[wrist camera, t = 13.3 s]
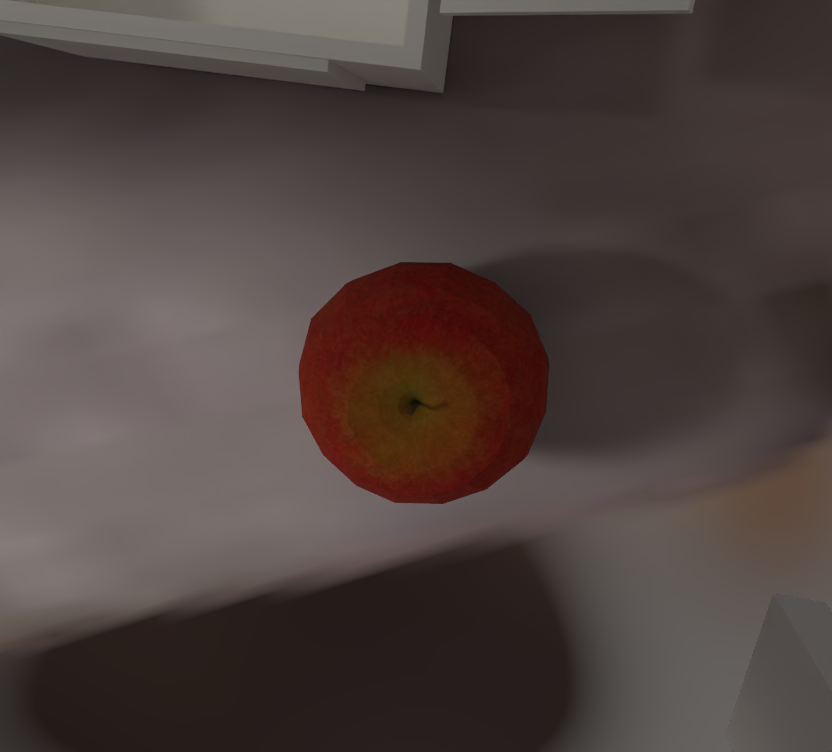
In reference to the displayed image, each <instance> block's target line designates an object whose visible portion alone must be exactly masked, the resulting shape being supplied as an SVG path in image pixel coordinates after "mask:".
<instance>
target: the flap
mask: <svg viewBox="0 0 832 752" xmlns="http://www.w3.org/2000/svg"><path fill="white" fill-rule="evenodd" d="M694 4H695V0H441V5H440V13H441V14H443V15H446V16H486V15H601V14H692V13H693V8H694Z"/></svg>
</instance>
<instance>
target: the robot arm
mask: <svg viewBox="0 0 832 752" xmlns="http://www.w3.org/2000/svg"><path fill="white" fill-rule="evenodd" d="M726 735H727V738H728V740H729V743H730V746H731V748H732V751H733V752H832V611H831V610H830V608H829V607H828V606H827V604H826V603H824V602H819V601H813V600H807V599H802V598H797V597H791V596H786V595H781V594H775V593H773V596H772V599H771V602H770V605H769V608H768V611H767V614H766V617H765V620H764V623H763V626H762V628H761V632H760V634H759V637H758V640H757V643H756V646H755V649H754V652H753V655H752V658H751V661H750V664H749V667H748V670H747V673H746V676H745V679H744V682H743V685H742V688H741V690H740V694H739V696H738V699H737V703H736V705H735V708H734V711H733V714H732V717H731V720H730V723H729V726H728V729H727V732H726Z"/></svg>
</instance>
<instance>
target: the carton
mask: <svg viewBox="0 0 832 752" xmlns="http://www.w3.org/2000/svg"><path fill="white" fill-rule="evenodd" d="M440 5H441V0H0V35H1V36H5V37H9V38H13V39H17V40H21V41H25V42H29V43H32V44H36V45H40V46H44V47H48V48H52V49H56V50H60V51H64V52H68V53H72V54H76V55H80V56H84V57H92V58H100V59H109V60H117V61H125V62H133V63H141V64H149V65H157V66H166V67H174V68H182V69H190V70H198V71H206V72H214V73H223V74H231V75H239V76H247V77H255V78H263V79H271V80H280V81H288V82H296V83H304V84H312V85H320V86H328V87H337V88H345V89H353V90H361V91H365V85H366V84H370V85H378V86H387V87H395V88H403V89H411V90H420V91H428V92H436V93H443V92H444V84H445V76H446V68H447V60H448V52H449V44H450V36H451V28H452V20H453V16H446V15H443V14H441V13H440Z"/></svg>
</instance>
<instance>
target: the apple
mask: <svg viewBox="0 0 832 752" xmlns="http://www.w3.org/2000/svg"><path fill="white" fill-rule="evenodd" d="M548 372H549V363H548V357H547V354H546V352H545V349H544V347H543V344H542V342H541V339H540V337H539V335H538V332H537V330H536V327H535V325H534V322H533V320H532V317H531V315H530V314H529V313H528V312H527V311H526V310H525V309H523V308H522V307H521V306H520V305H519V304H518V303H517V302H516V301H515V300H514V299H512V298H511V297H510V296H509V295H508V294H507V293H506V292H505V291H504V290H502V289H501V288H500V287H499V286H498V285H497V284H496V283H494V282H492V281H490V280H487V279H485V278H483V277H481V276H479V275H476V274H474V273H472V272H470V271H468V270H465V269H463V268H461V267H459V266H457V265H454V264H452V263H415V262H401V263H398V264H395V265H392V266H390V267H387V268H384V269H382V270H379V271H376V272H374V273H371V274H368V275H365V276H363V277H360V278H357V279H355V280H352V281H350V282H348V283H346V284H345V285H344V286H343V287H342V288H341V289H340V290H339V291H338V293H337V294H336V295H335V296H334V297H333V298H332V299H331V300H330V301H329V302H328V303H327V304H326V305H325V306H324V307H323V308H322V309H321V310H320V311H319V312H318V313H317V314H316V315H315V316H314V317H313V318H312V319H311V322H310V326H309V329H308V333H307V337H306V341H305V345H304V349H303V353H302V356H301V360H300V364H299V381H300V394H301V406H302V417H303V419H304V420H305V422H306V424H307V426H308V428H309V430H310V432H311V433H312V435H313V437H314V439H315V441H316V443H317V444H318V446H319V448H320V450H321V452H322V454H323V455H324V456H325V457H326V458H327V459H328V460H329V461H330V462H331V463H332V464H334V465H335V466H336V467H337V468H338V469H339V470H340V471H341V472H342V473H343V474H344V475H345V476H347V477H348V478H349V479H350V480H351V481H352V482H353V483H354V484H355V485H356V486H359V487H361V488H363V489H365V490H368V491H370V492H372V493H374V494H377V495H379V496H381V497H383V498H386V499H388V500H390V501H392V502H395V503H431V504H444V503H447V502H450V501H453V500H456V499H459V498H462V497H465V496H468V495H471V494H473V493H476V492H479V491H482V490H485V489H487V488H488V487H490V486H491V485H492V484H493V483H495V482H496V481H497V480H498V479H500V478H501V477H502V476H504V475H505V474H506V473H507V472H509V471H510V470H511V469H512V468H514V467H515V466H516V465H517V464H519V463H520V462H521V461H522V460H523V459H524V458H525V457H526V456H527V455H528V453H529V450H530V448H531V445H532V443H533V441H534V438H535V436H536V434H537V431H538V429H539V426H540V424H541V422H542V419H543V417H544V415H545V412H546V401H547V386H548Z"/></svg>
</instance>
